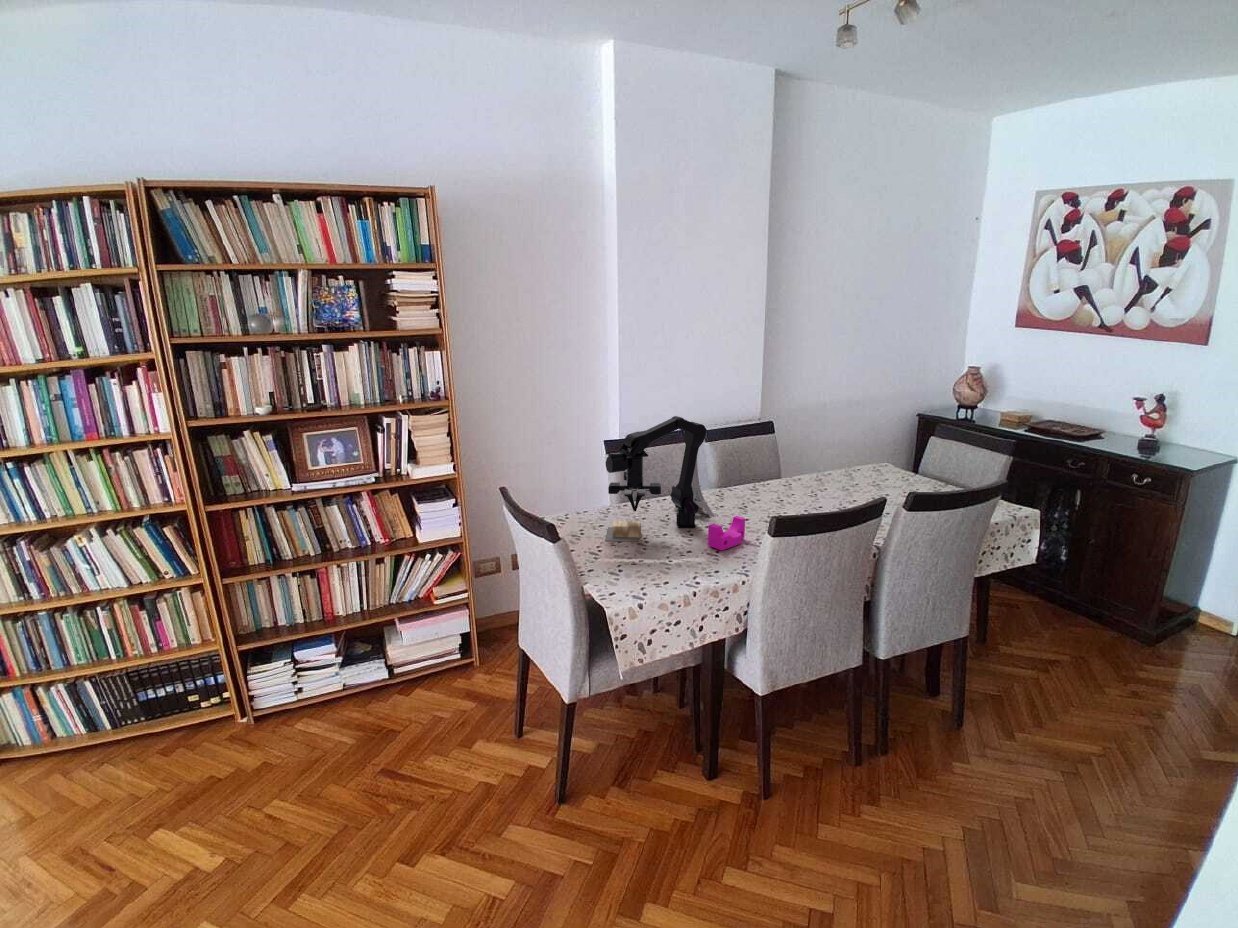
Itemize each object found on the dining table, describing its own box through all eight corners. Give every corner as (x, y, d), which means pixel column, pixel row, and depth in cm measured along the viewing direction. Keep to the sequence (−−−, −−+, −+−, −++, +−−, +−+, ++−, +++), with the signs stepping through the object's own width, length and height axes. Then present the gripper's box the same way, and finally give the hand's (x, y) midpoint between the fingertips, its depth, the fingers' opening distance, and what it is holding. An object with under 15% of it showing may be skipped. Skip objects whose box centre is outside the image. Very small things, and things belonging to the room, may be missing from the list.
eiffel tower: (701, 507, 263) (703, 436, 256) (716, 517, 251) (718, 443, 243) (671, 511, 259) (672, 439, 252) (685, 521, 247) (686, 445, 239)
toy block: (721, 550, 218) (722, 529, 216) (707, 545, 223) (708, 525, 221) (749, 540, 227) (750, 520, 225) (736, 535, 232) (737, 515, 230)
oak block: (641, 521, 235) (613, 520, 235) (640, 526, 229) (612, 526, 230) (641, 531, 236) (614, 530, 236) (640, 537, 230) (612, 536, 230)
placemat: (639, 528, 240) (639, 527, 240) (638, 541, 226) (638, 541, 226) (608, 527, 240) (608, 527, 240) (604, 541, 227) (604, 540, 227)
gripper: (661, 464, 234) (660, 504, 238) (610, 463, 235) (610, 504, 239) (661, 471, 223) (660, 514, 227) (607, 471, 224) (608, 513, 228)
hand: (634, 511), depth 231 cm, fingers closed
